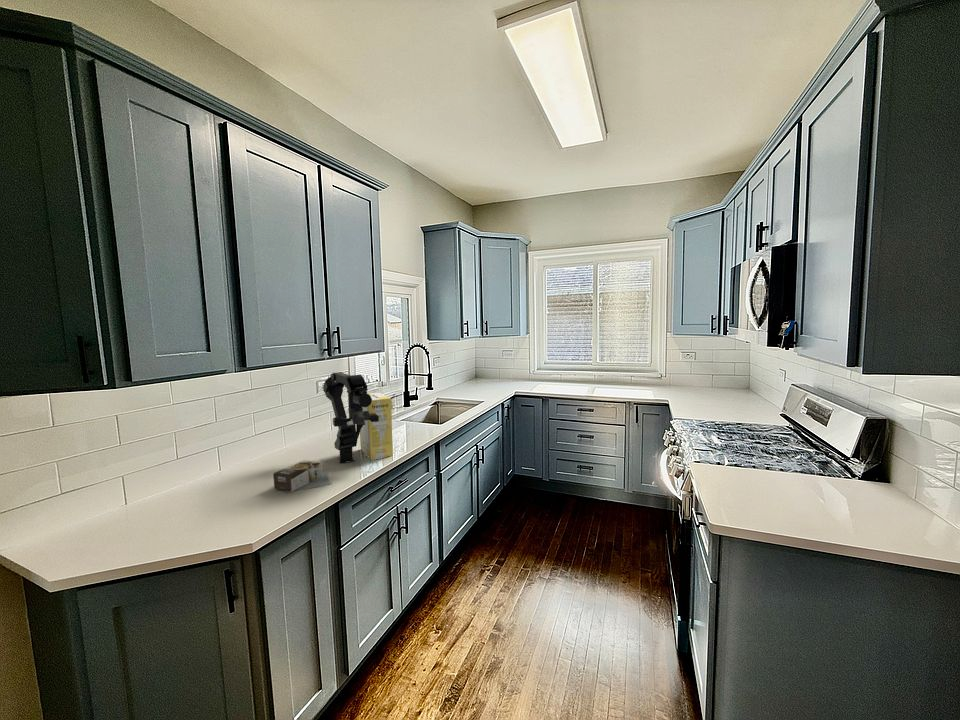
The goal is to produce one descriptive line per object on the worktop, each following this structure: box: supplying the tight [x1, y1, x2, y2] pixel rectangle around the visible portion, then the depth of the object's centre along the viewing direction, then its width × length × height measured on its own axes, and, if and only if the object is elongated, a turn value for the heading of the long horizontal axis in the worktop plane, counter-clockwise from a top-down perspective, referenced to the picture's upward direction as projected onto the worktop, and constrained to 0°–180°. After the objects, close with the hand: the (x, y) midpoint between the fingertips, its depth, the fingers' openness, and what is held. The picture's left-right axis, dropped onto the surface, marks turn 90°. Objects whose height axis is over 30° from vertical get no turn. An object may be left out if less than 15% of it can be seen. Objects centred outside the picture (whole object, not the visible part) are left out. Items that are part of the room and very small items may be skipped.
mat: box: [285, 468, 332, 494], centre depth 162 cm, size 18×16×1 cm
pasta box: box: [359, 392, 394, 461], centre depth 194 cm, size 18×10×28 cm, turn 31°
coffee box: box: [272, 459, 323, 493], centre depth 158 cm, size 9×6×16 cm
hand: (356, 438), depth 174 cm, fingers closed
